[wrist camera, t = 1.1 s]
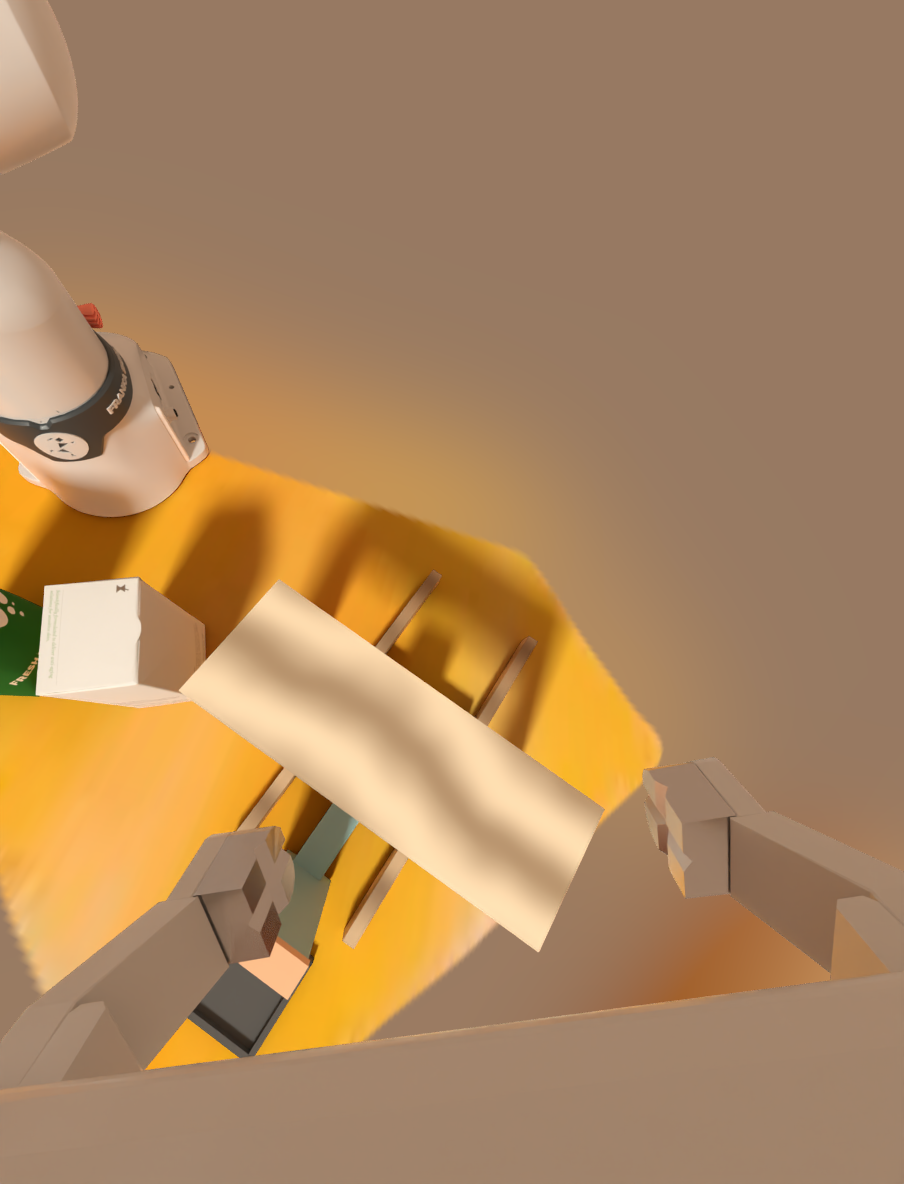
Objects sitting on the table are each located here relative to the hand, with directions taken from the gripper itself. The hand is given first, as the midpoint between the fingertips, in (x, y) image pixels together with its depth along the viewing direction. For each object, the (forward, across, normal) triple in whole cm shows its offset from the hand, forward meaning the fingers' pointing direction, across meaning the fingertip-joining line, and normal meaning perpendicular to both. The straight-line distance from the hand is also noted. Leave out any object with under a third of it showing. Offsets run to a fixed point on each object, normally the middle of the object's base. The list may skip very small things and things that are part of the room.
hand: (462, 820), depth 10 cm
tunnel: (+34, +9, +19) cm, 40 cm away
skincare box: (+35, +30, +8) cm, 47 cm away
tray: (+21, +25, +32) cm, 45 cm away
